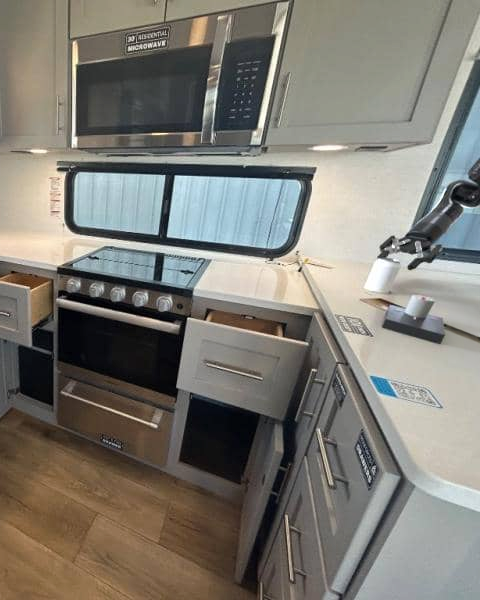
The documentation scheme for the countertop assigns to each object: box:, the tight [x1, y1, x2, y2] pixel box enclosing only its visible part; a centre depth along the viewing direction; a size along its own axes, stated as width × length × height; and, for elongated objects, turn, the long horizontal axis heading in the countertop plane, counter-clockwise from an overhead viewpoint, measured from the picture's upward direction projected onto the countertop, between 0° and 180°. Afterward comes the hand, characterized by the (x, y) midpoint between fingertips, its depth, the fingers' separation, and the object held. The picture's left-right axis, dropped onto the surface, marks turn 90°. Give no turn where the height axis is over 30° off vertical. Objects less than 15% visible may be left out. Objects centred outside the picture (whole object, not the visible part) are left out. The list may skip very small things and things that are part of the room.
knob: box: [405, 294, 436, 318], centre depth 88 cm, size 4×4×5 cm
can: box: [364, 257, 402, 296], centre depth 109 cm, size 6×6×12 cm
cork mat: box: [359, 297, 407, 312], centre depth 101 cm, size 12×12×1 cm
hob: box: [381, 305, 446, 345], centre depth 88 cm, size 15×11×3 cm
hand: (393, 264), depth 109 cm, fingers open, 8 cm apart
